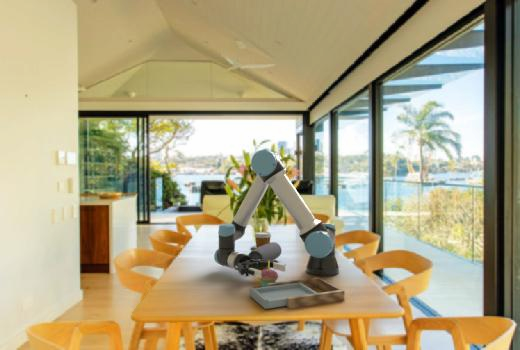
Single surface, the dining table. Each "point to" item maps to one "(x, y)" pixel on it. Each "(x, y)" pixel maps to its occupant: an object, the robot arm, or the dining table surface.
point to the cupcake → (268, 276)
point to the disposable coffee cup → (262, 238)
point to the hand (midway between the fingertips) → (273, 271)
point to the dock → (330, 295)
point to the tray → (278, 294)
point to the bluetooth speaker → (266, 252)
